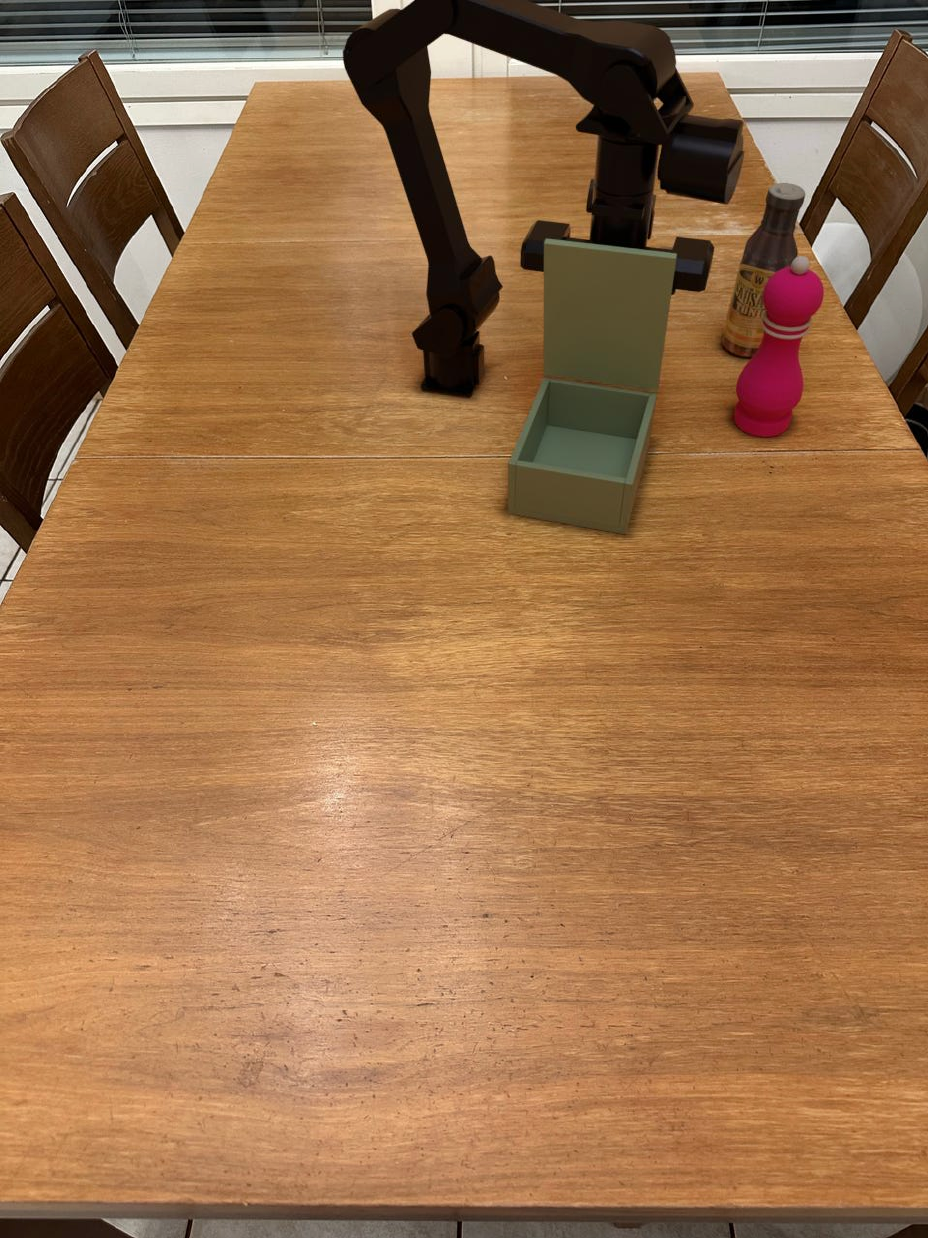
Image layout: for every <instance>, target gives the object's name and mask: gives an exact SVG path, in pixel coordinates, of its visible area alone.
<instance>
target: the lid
mask: <svg viewBox="0 0 928 1238" xmlns="http://www.w3.org/2000/svg"><path fill="white" fill-rule="evenodd" d="M676 258H677V253H668V252H660V251H651V250H642V249H634V248H625V247H616V246H607V245H599V244H590V243H581V242H573V241H564V240H555V239H545V242H544V272H543V341H542V342H543V347H542V348H543V350H542V351H543V353H542V355H543V356H542V357H543V360H542V361H543V362H542V363H543V364H542V365H543V366H542V367H543V368H542V372H543V373H542V374H543V376H548V377H555V378H562V379H569V380H575V381H582V382H589V383H596V384H603V385H610V386H617V387H624V388H630V389H637V390H644V391H651V392H658V391H659V387H660V379H661V372H662V365H663V359H664V351H665V345H666V336H667V330H668V329H667V328H668V321H669V314H670V308H671V300H672V295H671V294H672V287H673V279H674V272H675V265H676Z"/></svg>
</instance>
